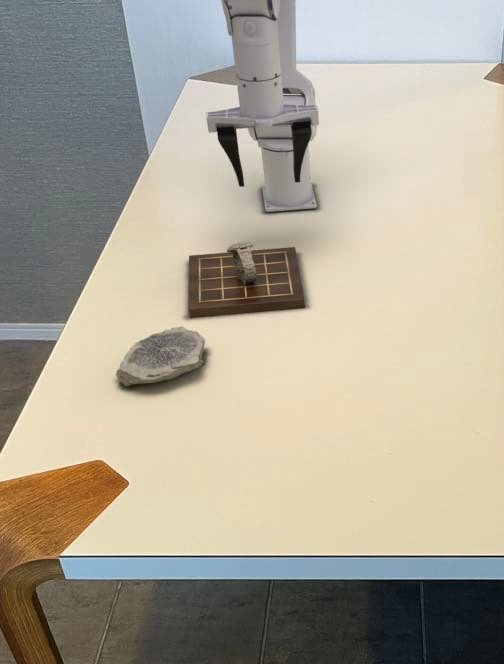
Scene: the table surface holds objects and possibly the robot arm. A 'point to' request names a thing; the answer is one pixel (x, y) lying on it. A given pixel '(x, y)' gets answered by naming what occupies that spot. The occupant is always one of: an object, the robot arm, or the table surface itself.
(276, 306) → the board
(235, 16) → the robot arm
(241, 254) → the wristwatch
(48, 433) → the table surface
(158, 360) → the fossil
